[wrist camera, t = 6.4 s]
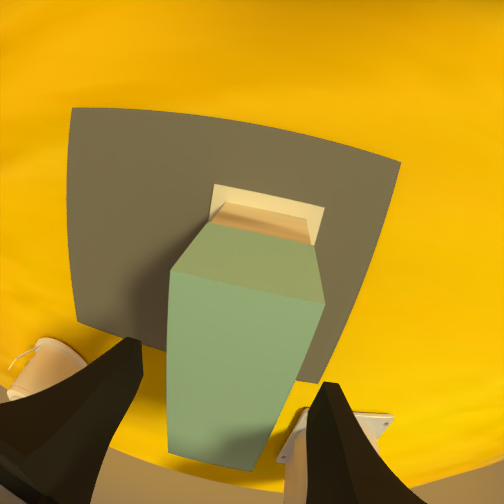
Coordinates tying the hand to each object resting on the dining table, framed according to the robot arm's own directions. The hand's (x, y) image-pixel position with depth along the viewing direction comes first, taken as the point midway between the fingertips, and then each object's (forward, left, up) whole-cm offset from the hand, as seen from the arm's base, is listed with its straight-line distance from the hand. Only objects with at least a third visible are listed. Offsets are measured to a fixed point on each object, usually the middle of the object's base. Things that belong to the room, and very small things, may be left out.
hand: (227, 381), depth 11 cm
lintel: (0, 0, -2) cm, 3 cm away
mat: (+2, +3, -7) cm, 8 cm away
